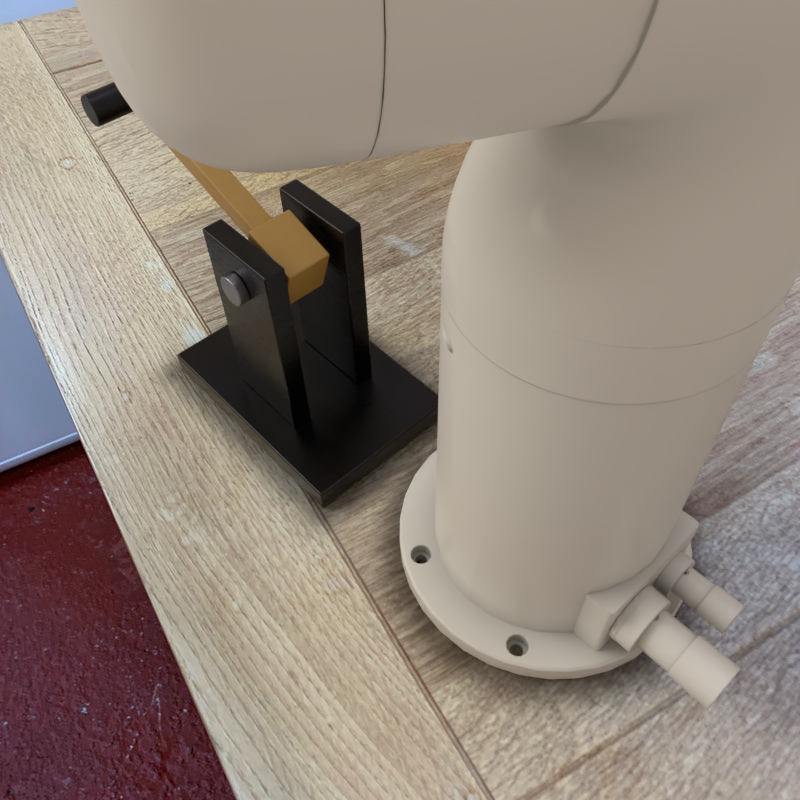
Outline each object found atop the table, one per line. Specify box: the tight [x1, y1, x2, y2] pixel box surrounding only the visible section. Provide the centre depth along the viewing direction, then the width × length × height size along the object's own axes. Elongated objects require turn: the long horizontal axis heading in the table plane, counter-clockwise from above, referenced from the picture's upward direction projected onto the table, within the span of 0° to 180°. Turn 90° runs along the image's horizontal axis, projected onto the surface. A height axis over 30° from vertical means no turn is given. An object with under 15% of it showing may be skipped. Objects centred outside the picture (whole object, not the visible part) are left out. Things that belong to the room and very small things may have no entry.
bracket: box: [176, 178, 438, 509], centre depth 37 cm, size 12×8×11 cm, turn 43°
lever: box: [80, 81, 329, 304], centre depth 35 cm, size 13×5×2 cm, turn 43°
